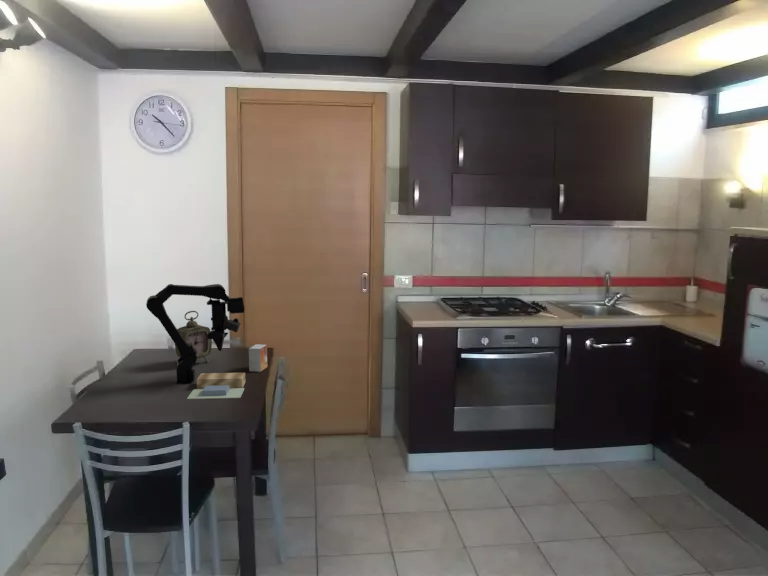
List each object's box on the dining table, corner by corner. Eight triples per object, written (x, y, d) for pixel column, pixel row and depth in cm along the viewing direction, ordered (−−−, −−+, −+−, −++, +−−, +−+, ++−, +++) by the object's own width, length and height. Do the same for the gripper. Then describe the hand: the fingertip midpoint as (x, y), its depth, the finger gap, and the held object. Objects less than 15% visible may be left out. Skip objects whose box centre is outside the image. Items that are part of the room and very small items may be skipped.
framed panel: (197, 388, 236) (196, 379, 235) (201, 382, 244) (201, 373, 243) (242, 388, 237) (242, 378, 237) (245, 381, 245) (245, 372, 245)
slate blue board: (206, 385, 233) (206, 390, 233) (202, 390, 227) (202, 395, 227) (229, 385, 234) (229, 390, 234) (226, 390, 228) (226, 395, 228)
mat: (186, 399, 224) (186, 398, 224) (193, 389, 235) (193, 389, 235) (240, 398, 226) (240, 397, 226) (244, 388, 237) (244, 388, 237)
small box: (260, 372, 259) (260, 349, 257) (249, 371, 260) (248, 348, 258) (267, 367, 267) (267, 344, 265) (256, 366, 268) (255, 343, 266)
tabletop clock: (184, 369, 262) (181, 314, 259) (173, 365, 268) (170, 311, 264) (212, 362, 273) (210, 309, 269) (201, 359, 279) (199, 307, 275)
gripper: (234, 318, 237) (235, 356, 240) (242, 310, 256) (243, 344, 258) (206, 319, 237) (208, 356, 239) (216, 310, 255) (217, 345, 257)
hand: (220, 350), depth 249 cm, fingers closed
